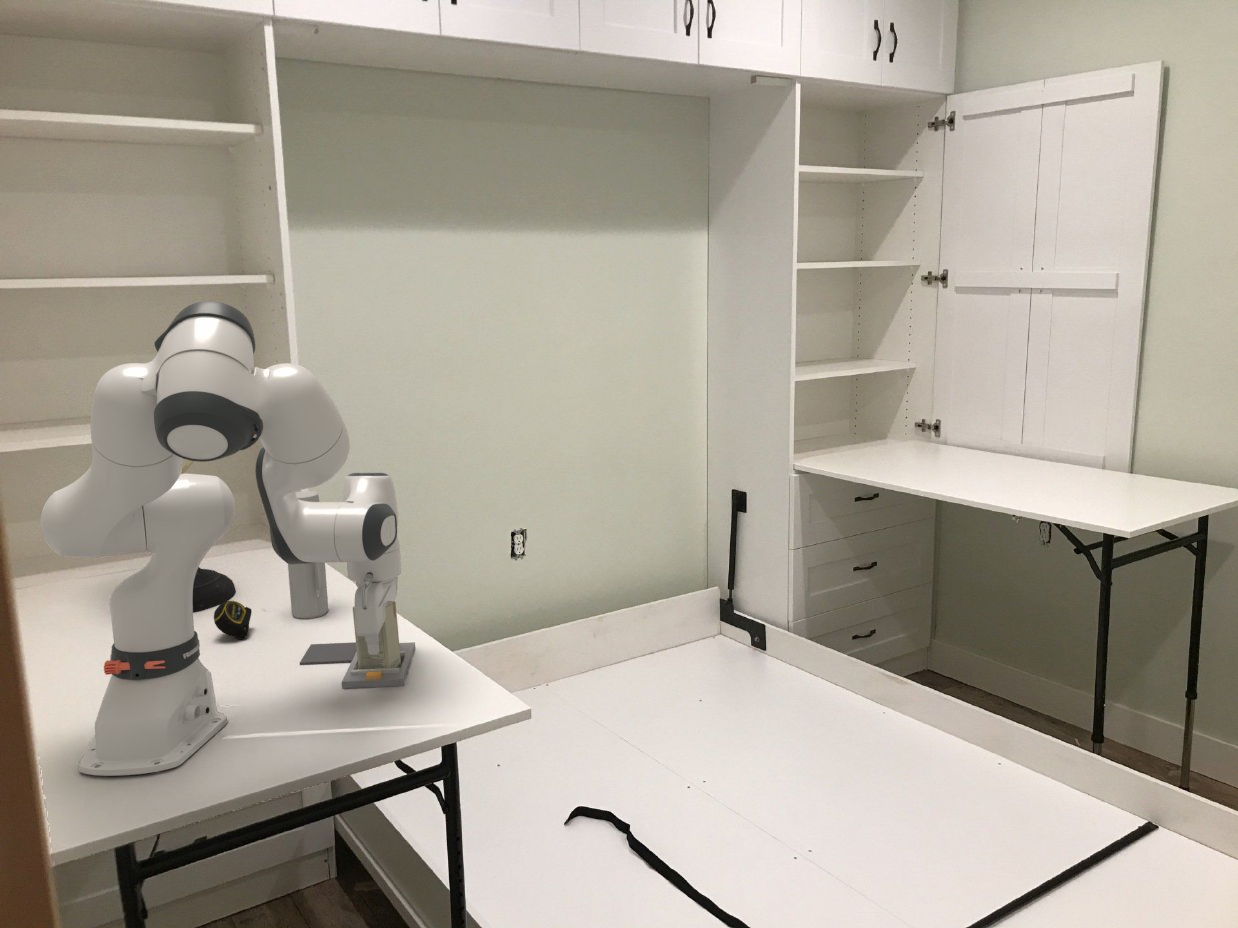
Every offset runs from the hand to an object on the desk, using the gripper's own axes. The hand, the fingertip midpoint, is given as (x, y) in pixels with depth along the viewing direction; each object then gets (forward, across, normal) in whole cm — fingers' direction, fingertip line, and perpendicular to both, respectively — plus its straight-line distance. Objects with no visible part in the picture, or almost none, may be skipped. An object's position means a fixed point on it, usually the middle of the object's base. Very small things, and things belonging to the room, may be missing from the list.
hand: (379, 642), depth 168 cm
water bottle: (+5, +31, +19) cm, 37 cm away
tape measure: (+5, +21, +31) cm, 38 cm away
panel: (+5, +2, 0) cm, 6 cm away
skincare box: (+6, 0, 0) cm, 6 cm away
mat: (+5, +9, +10) cm, 15 cm away
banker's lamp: (+5, +45, +50) cm, 67 cm away
